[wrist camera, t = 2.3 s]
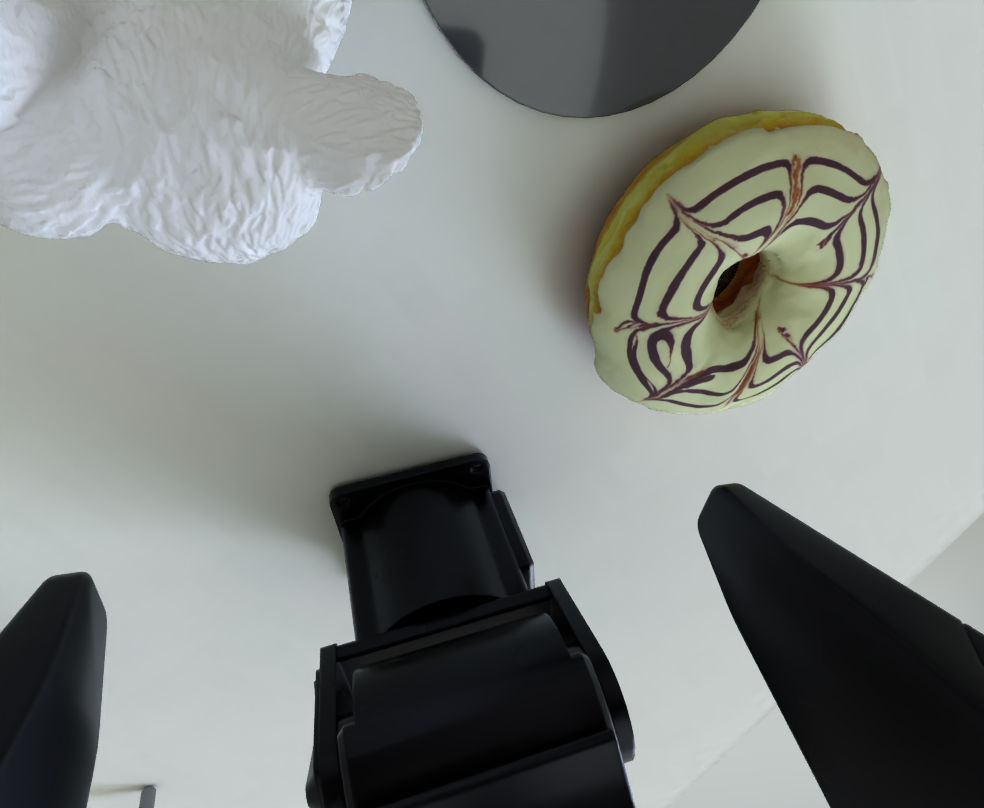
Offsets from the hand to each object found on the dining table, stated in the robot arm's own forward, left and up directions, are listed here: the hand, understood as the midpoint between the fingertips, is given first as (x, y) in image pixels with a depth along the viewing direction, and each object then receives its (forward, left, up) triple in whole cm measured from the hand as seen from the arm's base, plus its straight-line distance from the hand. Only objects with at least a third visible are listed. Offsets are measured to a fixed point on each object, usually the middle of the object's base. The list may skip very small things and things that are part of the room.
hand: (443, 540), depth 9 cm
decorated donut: (+12, -4, -13) cm, 18 cm away
